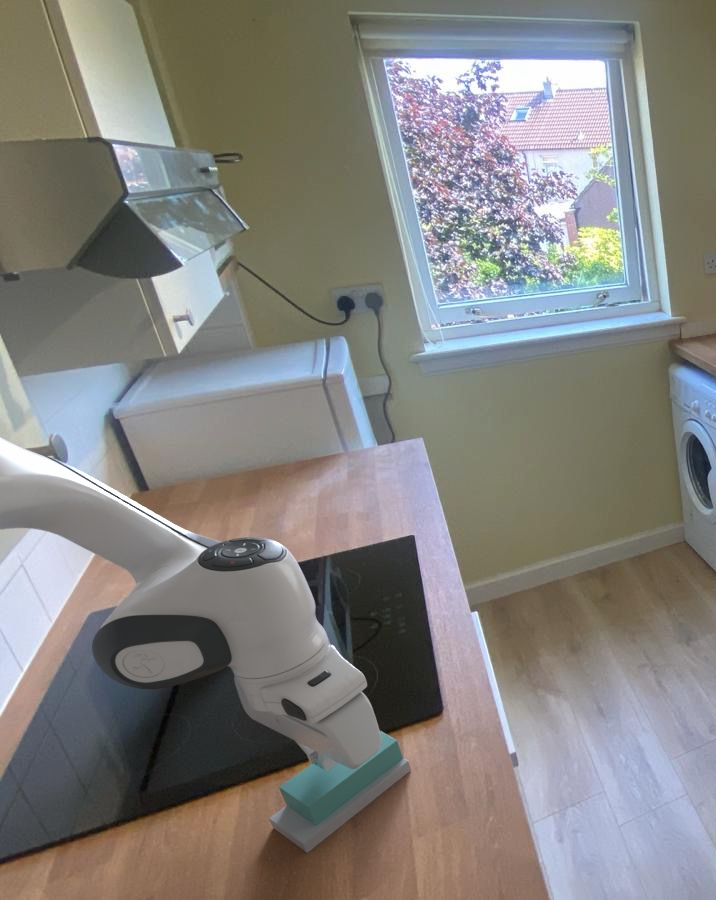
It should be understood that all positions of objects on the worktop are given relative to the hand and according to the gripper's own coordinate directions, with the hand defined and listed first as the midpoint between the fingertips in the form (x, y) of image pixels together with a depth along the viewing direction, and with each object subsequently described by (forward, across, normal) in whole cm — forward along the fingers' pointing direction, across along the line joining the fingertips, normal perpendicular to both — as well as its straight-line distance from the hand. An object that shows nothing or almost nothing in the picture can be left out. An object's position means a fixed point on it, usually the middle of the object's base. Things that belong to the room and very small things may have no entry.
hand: (325, 763), depth 87 cm
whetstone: (+3, -3, 0) cm, 4 cm away
